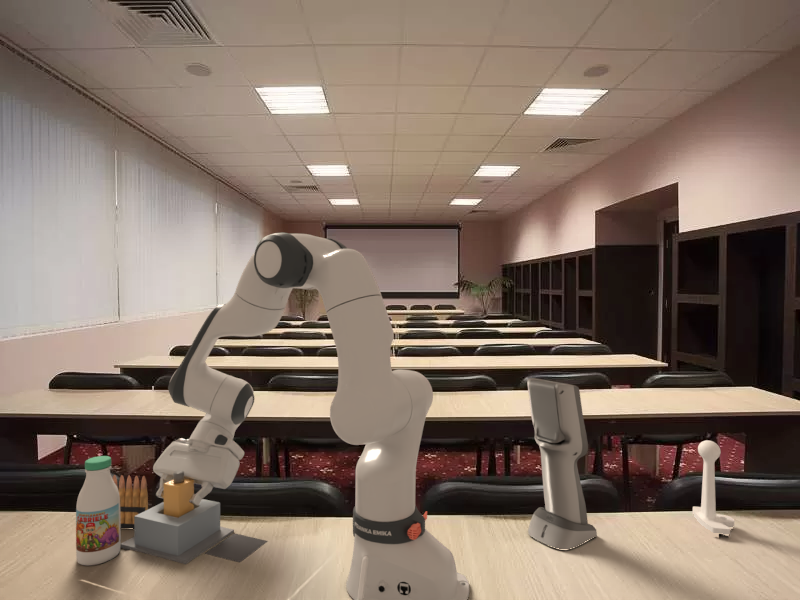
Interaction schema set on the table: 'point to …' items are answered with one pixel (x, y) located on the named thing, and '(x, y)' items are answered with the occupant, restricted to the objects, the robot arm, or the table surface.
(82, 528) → the milk bottle
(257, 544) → the mat
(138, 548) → the housing
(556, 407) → the thermal camera
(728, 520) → the joystick
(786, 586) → the table surface
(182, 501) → the plug
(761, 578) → the table surface
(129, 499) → the ammunition clip
